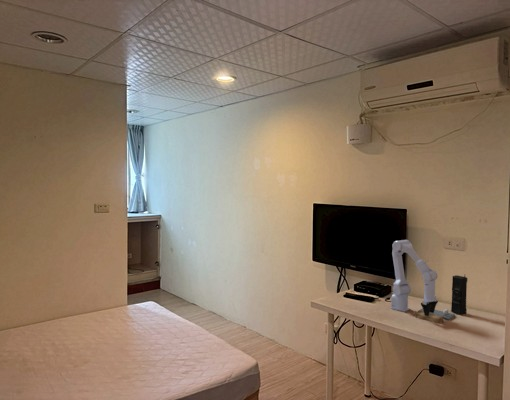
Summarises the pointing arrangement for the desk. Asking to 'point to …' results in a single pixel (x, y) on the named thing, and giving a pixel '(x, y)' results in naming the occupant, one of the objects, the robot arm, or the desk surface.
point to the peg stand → (442, 314)
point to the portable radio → (459, 295)
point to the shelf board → (429, 317)
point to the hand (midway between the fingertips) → (429, 313)
